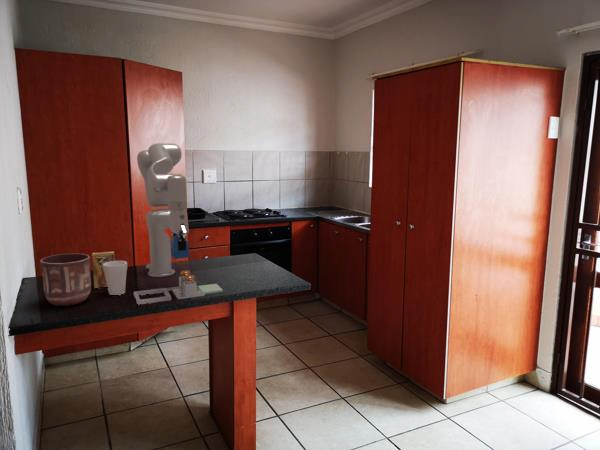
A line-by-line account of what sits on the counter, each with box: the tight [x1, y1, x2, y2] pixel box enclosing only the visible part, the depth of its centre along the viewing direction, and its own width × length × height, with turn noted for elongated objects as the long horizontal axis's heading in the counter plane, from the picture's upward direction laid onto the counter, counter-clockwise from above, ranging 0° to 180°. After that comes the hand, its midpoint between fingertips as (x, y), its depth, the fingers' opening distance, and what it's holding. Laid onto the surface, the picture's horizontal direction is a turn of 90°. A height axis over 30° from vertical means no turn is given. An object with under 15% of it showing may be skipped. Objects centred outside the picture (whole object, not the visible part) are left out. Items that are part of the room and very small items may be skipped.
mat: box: [197, 283, 224, 295], centre depth 199 cm, size 10×10×1 cm
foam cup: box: [103, 260, 128, 296], centre depth 193 cm, size 10×9×13 cm
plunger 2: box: [184, 274, 195, 284], centre depth 190 cm, size 4×4×7 cm
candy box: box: [91, 251, 116, 289], centre depth 202 cm, size 9×4×15 cm, turn 110°
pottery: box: [39, 252, 92, 307], centre depth 182 cm, size 18×18×18 cm
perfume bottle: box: [170, 232, 190, 260], centre depth 190 cm, size 6×6×12 cm
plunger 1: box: [179, 269, 191, 279], centre depth 197 cm, size 4×4×7 cm
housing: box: [133, 275, 206, 306], centre depth 191 cm, size 26×14×6 cm, turn 116°
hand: (179, 248), depth 191 cm, fingers closed on perfume bottle, 6 cm apart
